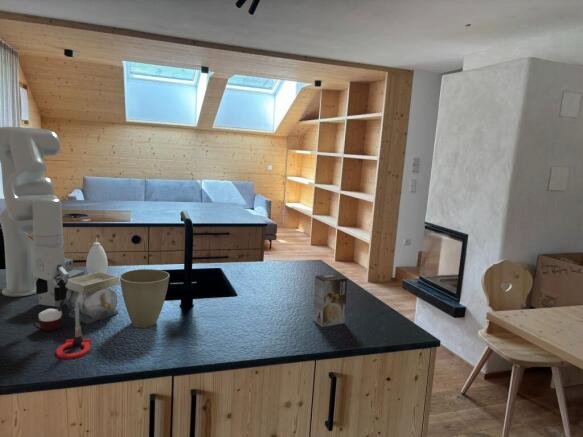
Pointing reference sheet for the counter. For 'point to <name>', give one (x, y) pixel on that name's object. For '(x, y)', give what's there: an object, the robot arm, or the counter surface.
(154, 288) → the plant pot
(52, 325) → the cocoa
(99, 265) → the sauce bottle
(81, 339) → the tow hook
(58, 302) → the circuit breaker
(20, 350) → the counter surface
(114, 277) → the clear storage container
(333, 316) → the coffee box
